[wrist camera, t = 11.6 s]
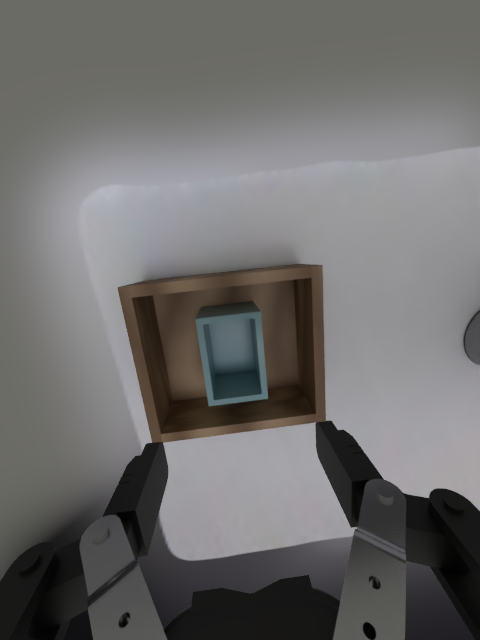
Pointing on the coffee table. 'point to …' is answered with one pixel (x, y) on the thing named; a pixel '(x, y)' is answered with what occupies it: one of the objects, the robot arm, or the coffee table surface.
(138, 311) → the walnut crate
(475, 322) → the robot arm
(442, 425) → the coffee table surface
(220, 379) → the teal crate
